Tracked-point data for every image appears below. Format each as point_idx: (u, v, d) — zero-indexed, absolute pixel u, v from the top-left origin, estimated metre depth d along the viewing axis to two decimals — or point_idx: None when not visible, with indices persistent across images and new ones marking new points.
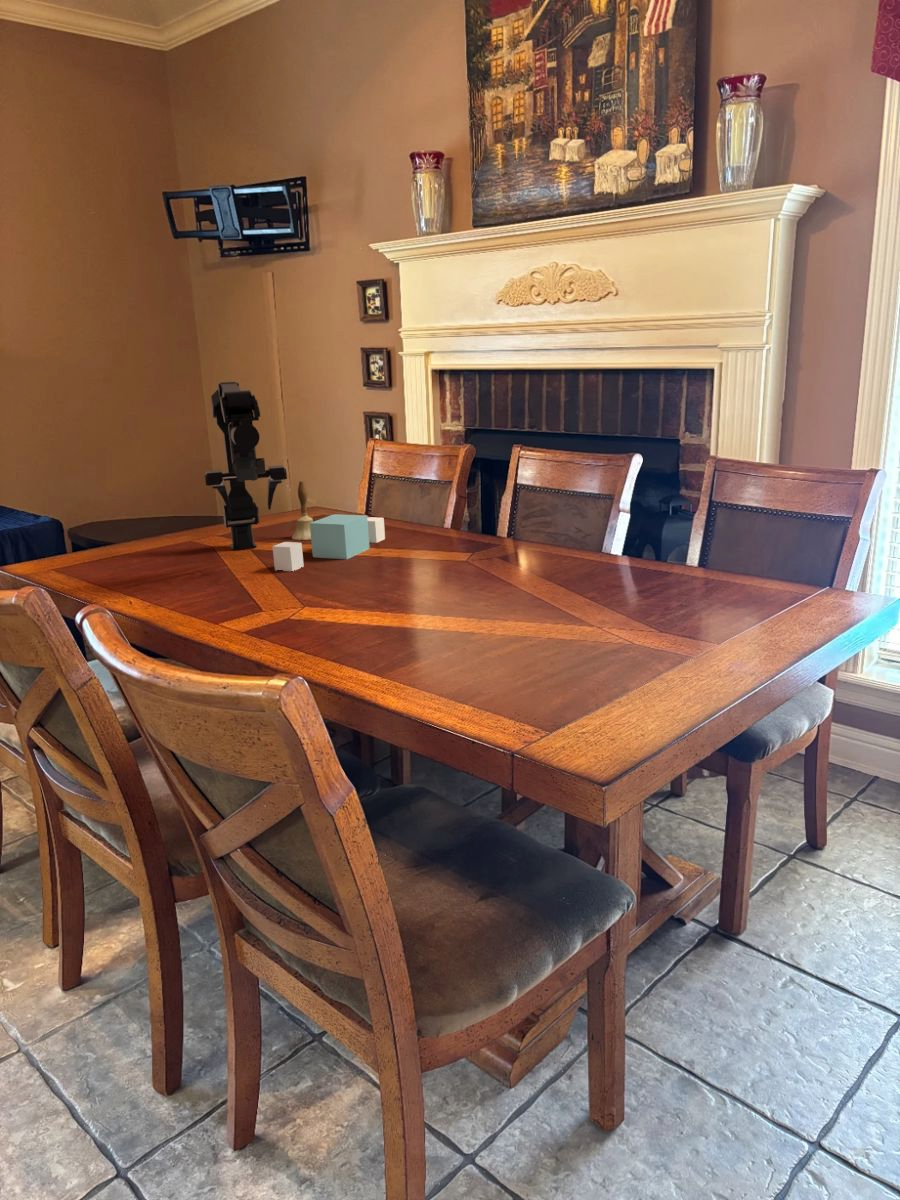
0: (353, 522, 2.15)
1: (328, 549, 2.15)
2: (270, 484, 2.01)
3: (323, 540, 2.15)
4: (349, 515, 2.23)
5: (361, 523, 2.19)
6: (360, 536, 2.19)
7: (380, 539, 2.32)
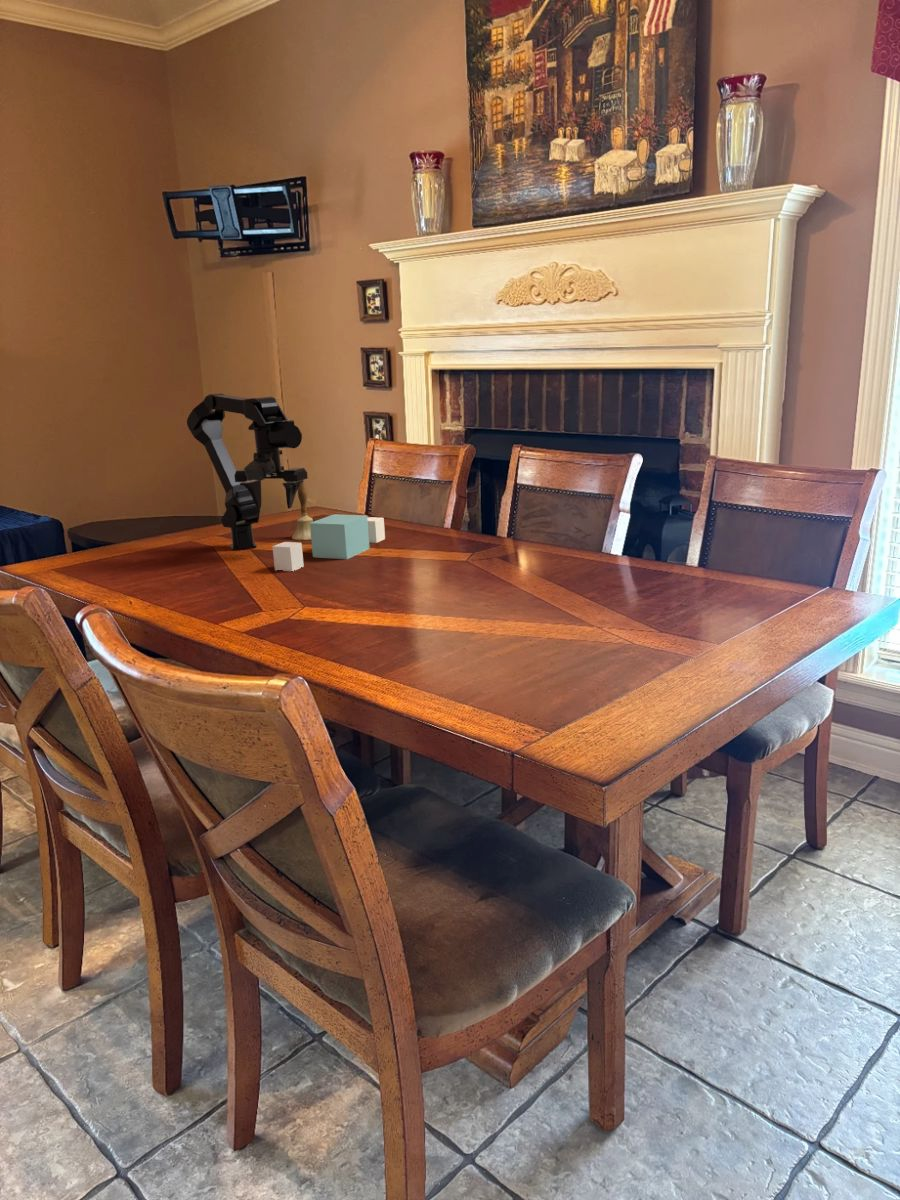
0: (353, 522, 2.15)
1: (328, 549, 2.15)
2: (284, 485, 2.15)
3: (323, 540, 2.15)
4: (349, 515, 2.23)
5: (361, 523, 2.19)
6: (360, 536, 2.19)
7: (380, 539, 2.32)
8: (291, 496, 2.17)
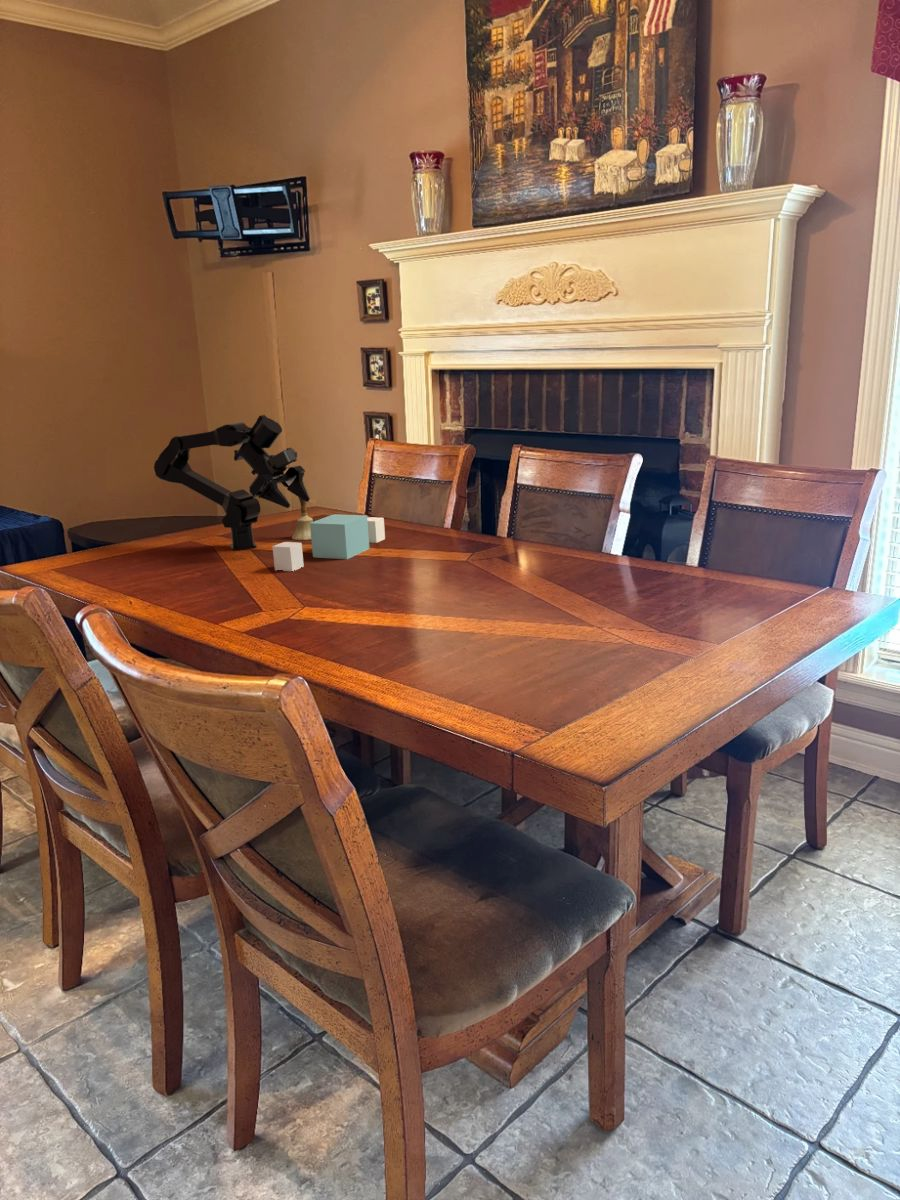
0: (353, 522, 2.15)
1: (329, 549, 2.15)
2: (299, 476, 2.25)
3: (324, 540, 2.14)
4: (349, 515, 2.23)
5: (361, 523, 2.19)
6: (360, 536, 2.19)
7: (380, 539, 2.32)
8: None
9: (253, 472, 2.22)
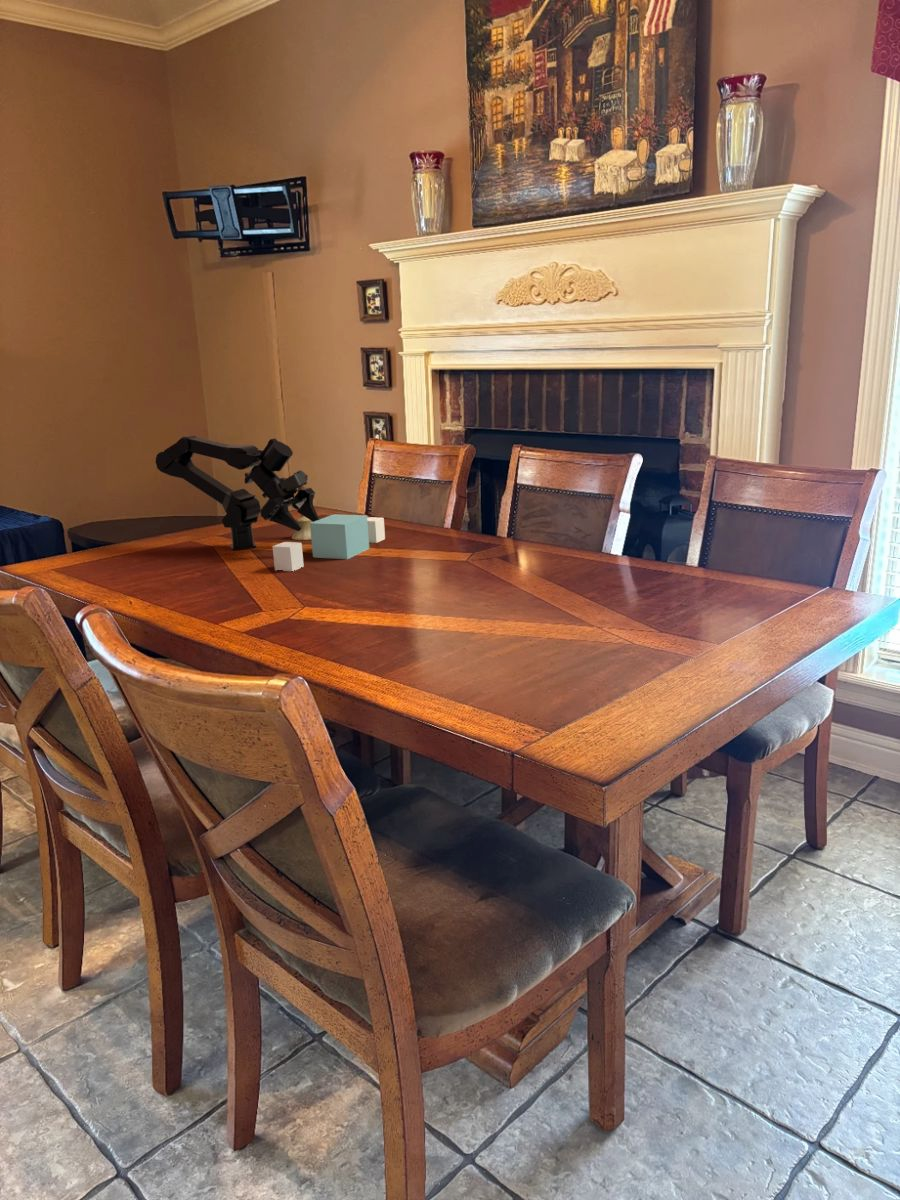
0: (353, 522, 2.15)
1: (329, 549, 2.15)
2: (309, 498, 2.26)
3: (324, 540, 2.14)
4: (349, 515, 2.23)
5: (361, 523, 2.19)
6: (360, 536, 2.19)
7: (380, 539, 2.32)
8: None
9: (264, 495, 2.22)
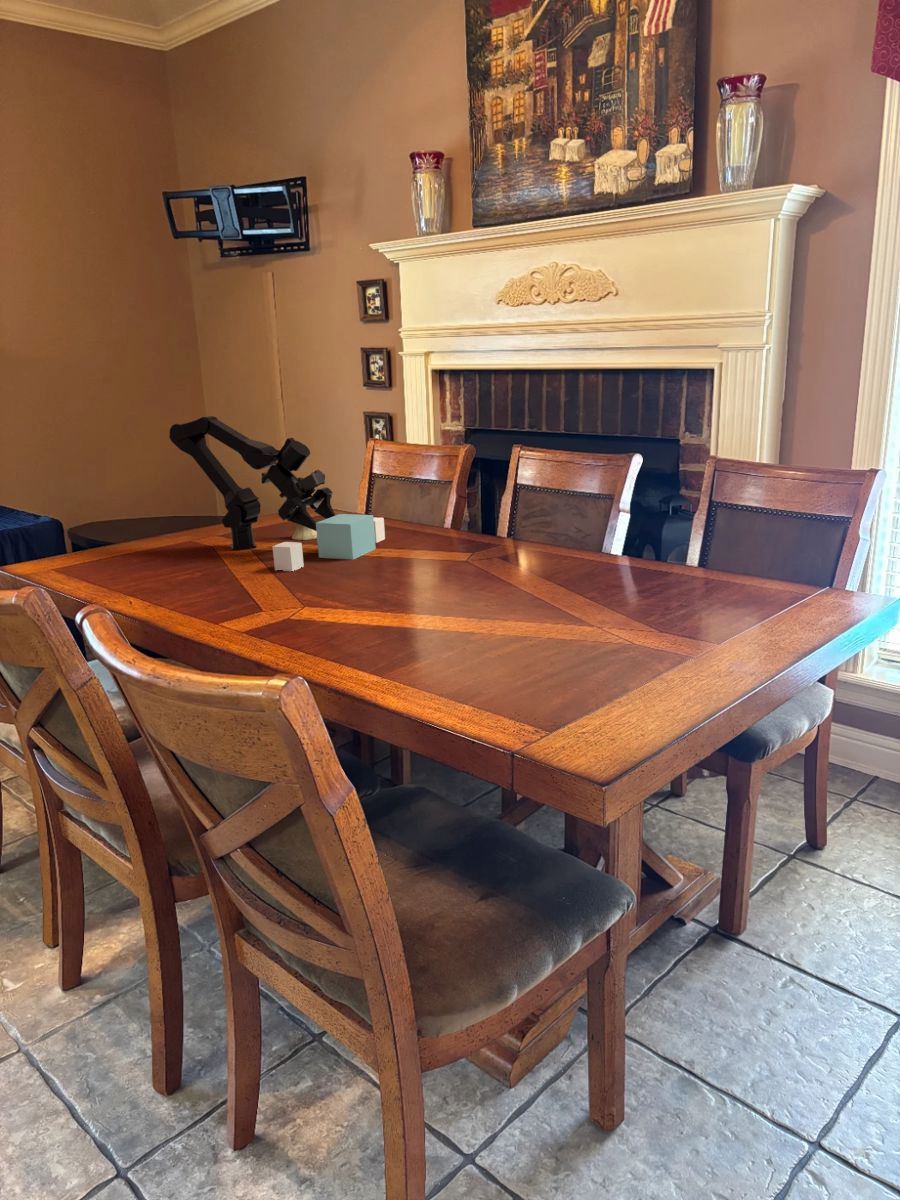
0: (359, 522, 2.14)
1: (334, 549, 2.14)
2: (327, 498, 2.24)
3: (329, 540, 2.14)
4: (355, 515, 2.22)
5: (367, 523, 2.18)
6: (366, 536, 2.18)
7: (380, 539, 2.32)
8: None
9: (281, 495, 2.20)
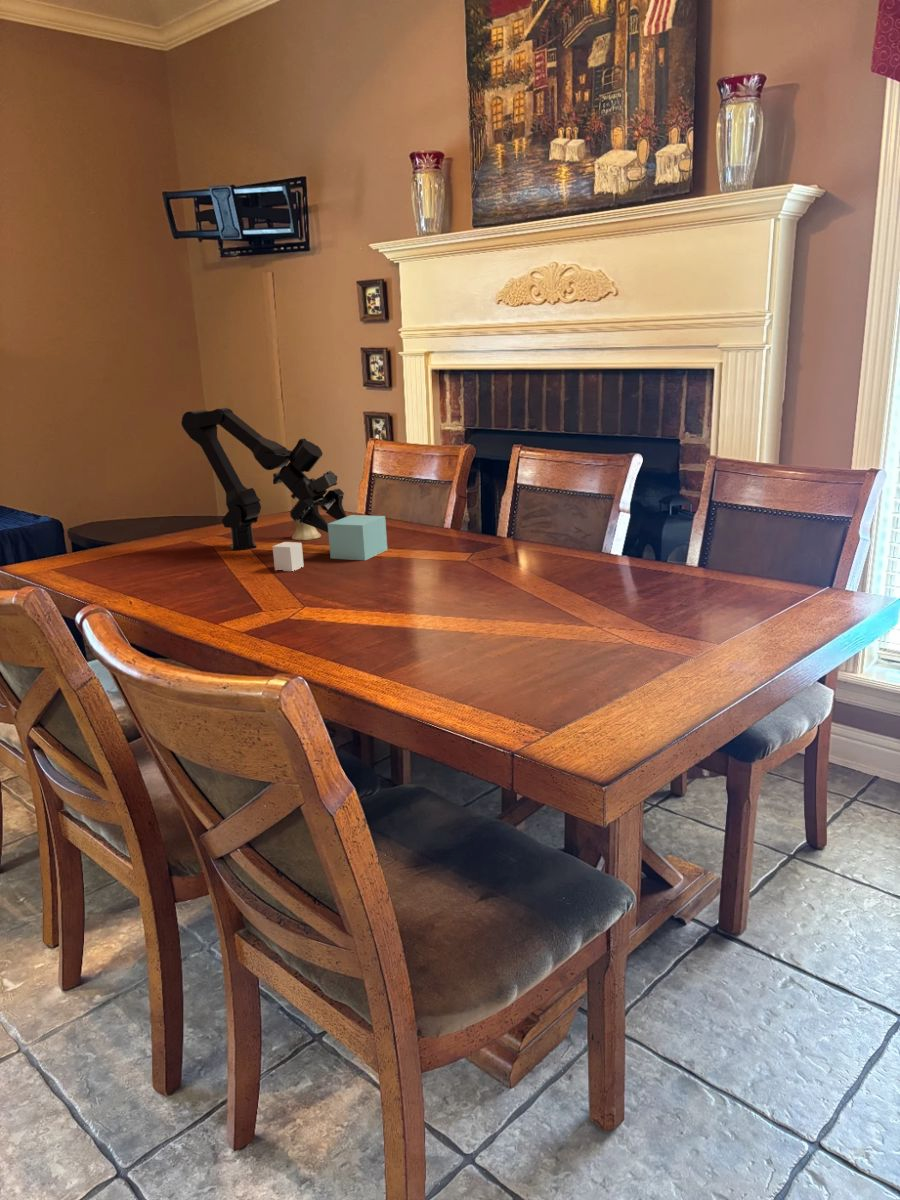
0: (371, 523, 2.13)
1: (346, 550, 2.13)
2: (338, 499, 2.23)
3: (341, 541, 2.12)
4: (367, 516, 2.20)
5: (379, 524, 2.17)
6: (378, 537, 2.17)
7: None
8: None
9: (293, 496, 2.19)
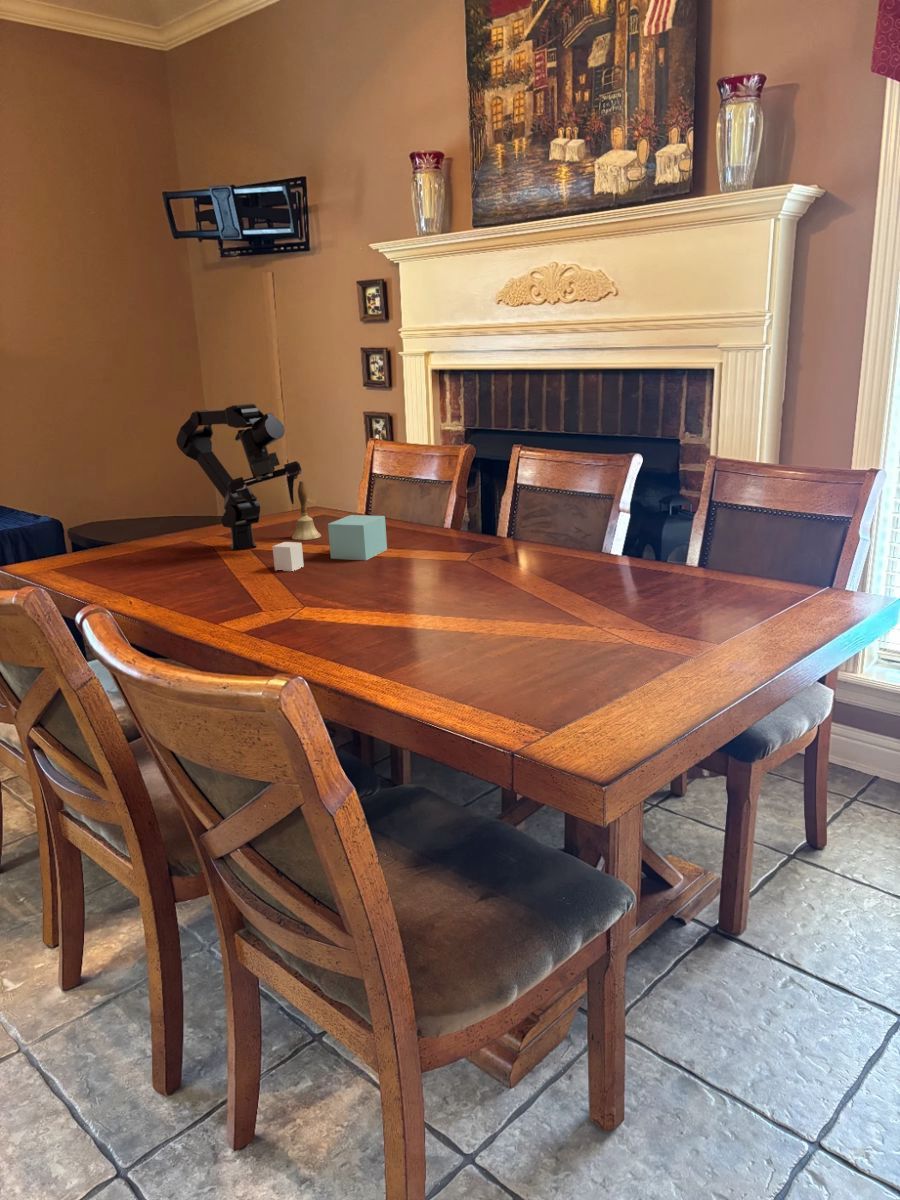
0: (372, 523, 2.13)
1: (347, 550, 2.13)
2: (287, 478, 2.18)
3: (342, 541, 2.12)
4: (366, 516, 2.21)
5: (379, 524, 2.17)
6: (378, 537, 2.17)
7: None
8: None
9: None
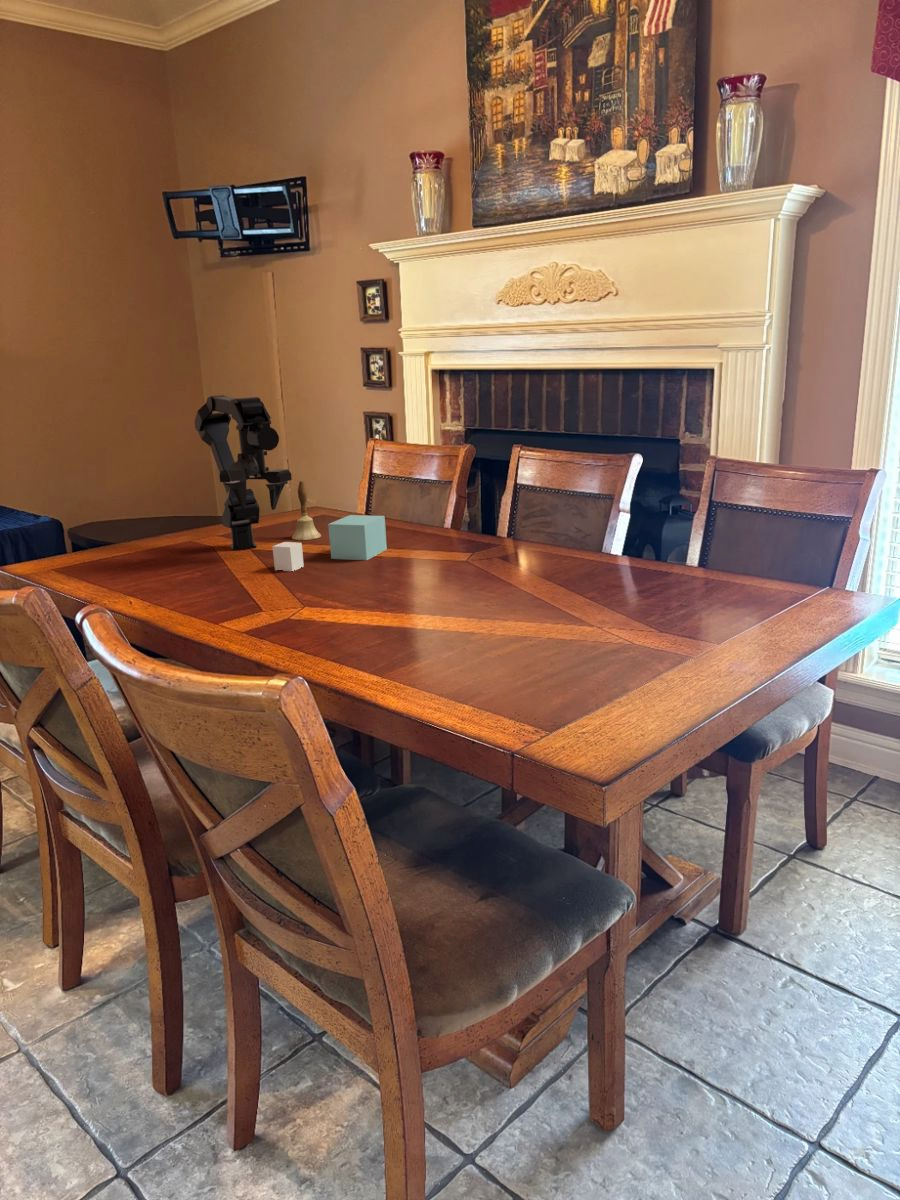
0: (372, 523, 2.13)
1: (347, 550, 2.12)
2: (267, 486, 2.13)
3: (342, 541, 2.12)
4: (366, 516, 2.21)
5: (379, 524, 2.17)
6: (378, 537, 2.17)
7: None
8: (275, 497, 2.16)
9: None
